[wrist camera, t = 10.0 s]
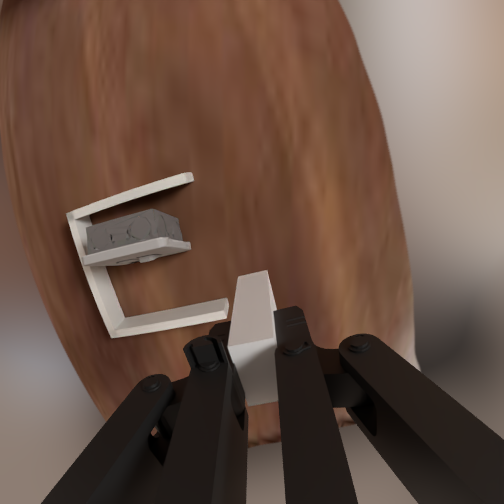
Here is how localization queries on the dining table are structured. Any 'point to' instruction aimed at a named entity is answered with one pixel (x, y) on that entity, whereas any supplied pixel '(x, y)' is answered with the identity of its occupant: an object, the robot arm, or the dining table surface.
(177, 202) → the dining table surface
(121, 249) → the electrical switch
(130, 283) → the dining table surface
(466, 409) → the robot arm
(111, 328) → the u-shaped bracket
